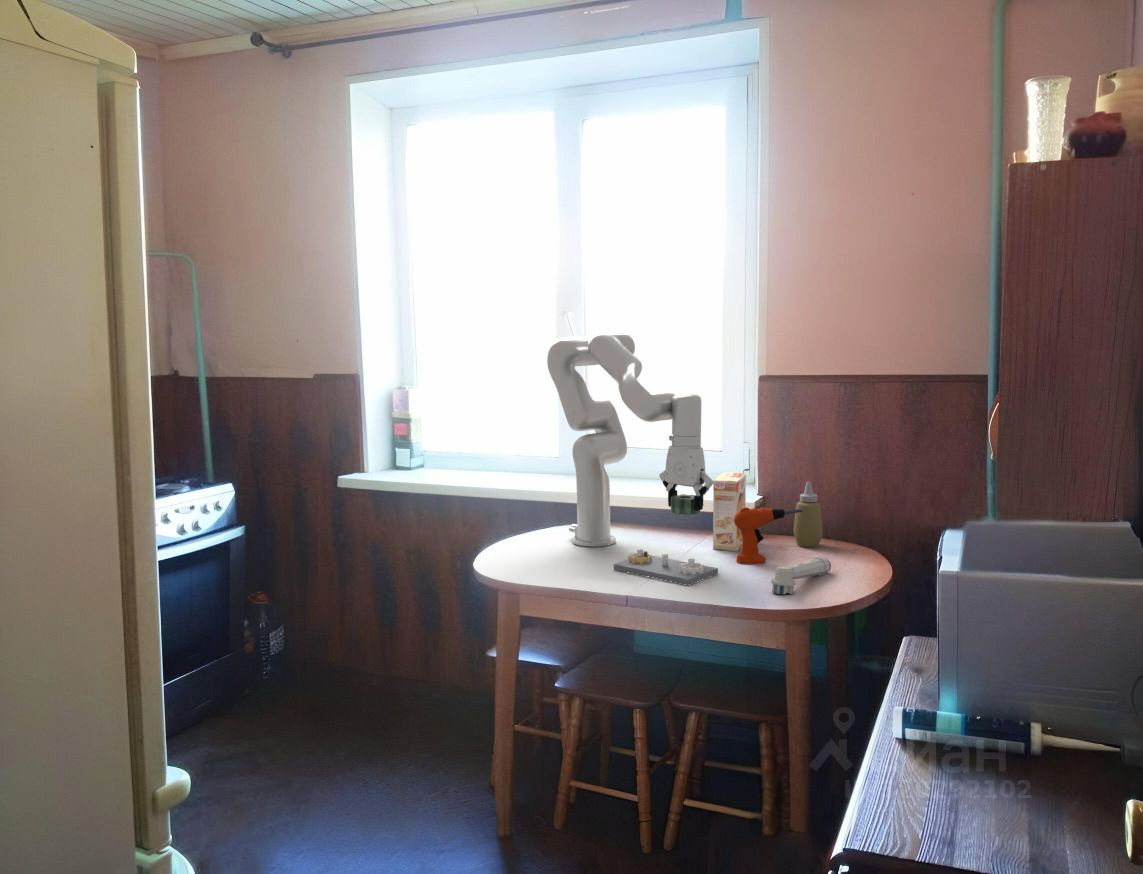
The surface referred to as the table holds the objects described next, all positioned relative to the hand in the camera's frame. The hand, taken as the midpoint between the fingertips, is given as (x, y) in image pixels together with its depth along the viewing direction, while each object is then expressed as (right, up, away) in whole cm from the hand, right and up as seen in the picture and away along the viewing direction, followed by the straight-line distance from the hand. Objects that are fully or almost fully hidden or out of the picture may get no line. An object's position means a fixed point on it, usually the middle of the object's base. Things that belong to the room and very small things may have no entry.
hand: (685, 507), depth 233 cm
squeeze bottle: (+36, -12, +15) cm, 41 cm away
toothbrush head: (+25, -17, -21) cm, 37 cm away
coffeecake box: (+15, -12, +19) cm, 27 cm away
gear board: (-6, -16, -9) cm, 19 cm away
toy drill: (+22, -14, -1) cm, 26 cm away
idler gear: (0, -1, 0) cm, 1 cm away
